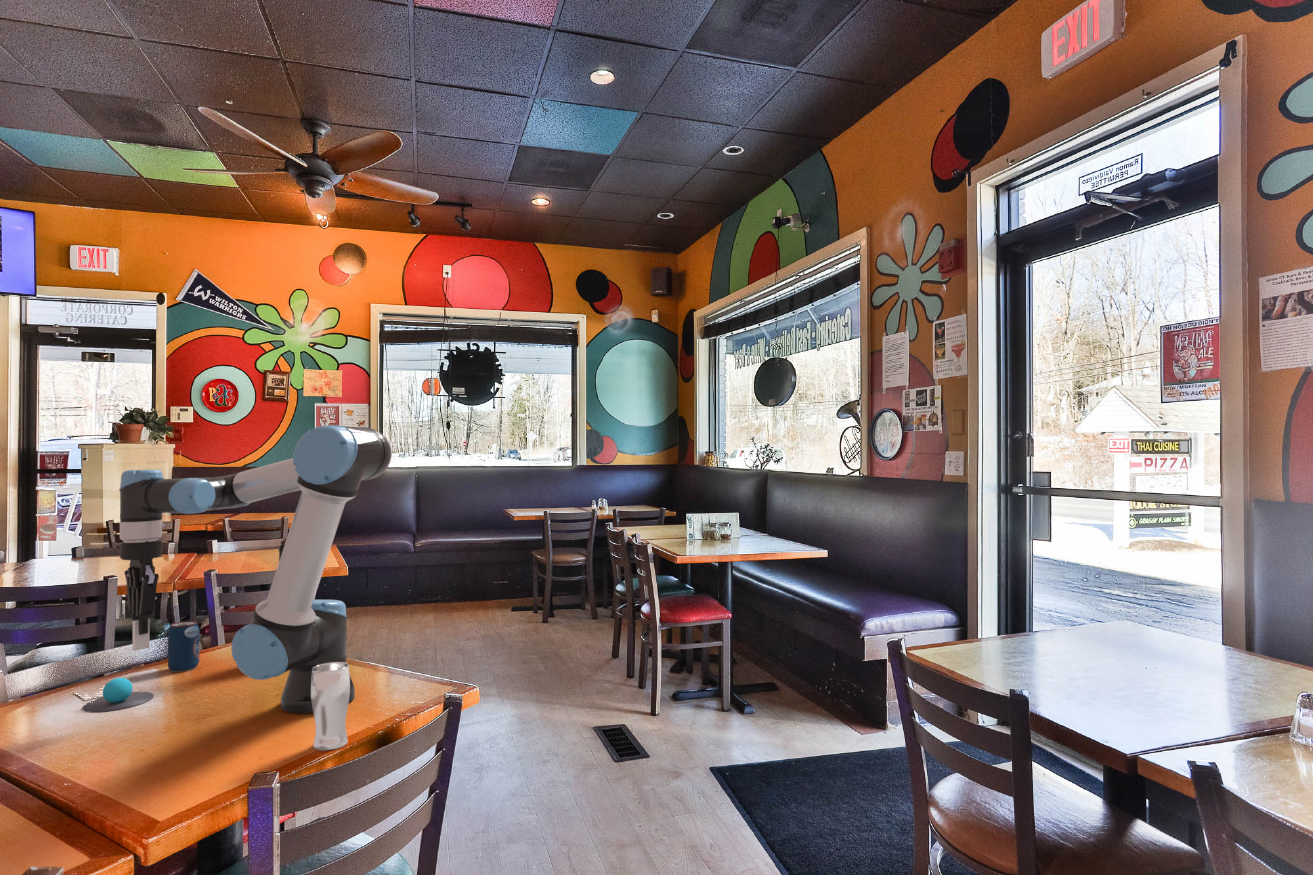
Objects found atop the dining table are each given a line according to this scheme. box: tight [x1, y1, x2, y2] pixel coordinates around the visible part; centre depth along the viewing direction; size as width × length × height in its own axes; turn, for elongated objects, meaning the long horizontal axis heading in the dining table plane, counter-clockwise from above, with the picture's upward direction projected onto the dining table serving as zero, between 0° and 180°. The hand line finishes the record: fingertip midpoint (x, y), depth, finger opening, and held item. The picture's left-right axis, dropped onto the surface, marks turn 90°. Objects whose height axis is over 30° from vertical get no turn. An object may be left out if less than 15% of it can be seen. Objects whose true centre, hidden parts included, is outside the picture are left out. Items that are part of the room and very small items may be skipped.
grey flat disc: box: [82, 691, 155, 713], centre depth 164 cm, size 13×13×1 cm
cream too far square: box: [73, 685, 105, 701], centre depth 171 cm, size 9×9×1 cm
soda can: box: [167, 620, 200, 673], centre depth 190 cm, size 7×7×12 cm
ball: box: [103, 677, 134, 703], centre depth 164 cm, size 6×6×6 cm
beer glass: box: [311, 662, 351, 752], centre depth 139 cm, size 7×7×15 cm
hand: (141, 648), depth 156 cm, fingers closed
